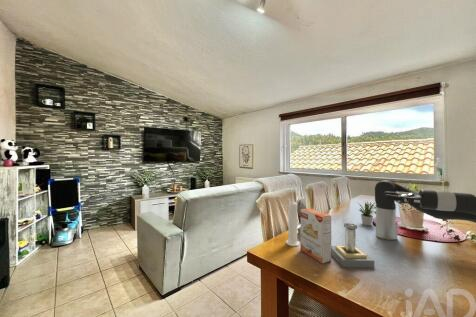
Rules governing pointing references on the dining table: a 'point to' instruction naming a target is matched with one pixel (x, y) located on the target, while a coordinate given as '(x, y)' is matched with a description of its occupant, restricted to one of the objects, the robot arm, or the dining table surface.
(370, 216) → the house plant
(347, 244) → the shaft
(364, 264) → the grey square socket base
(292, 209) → the candle
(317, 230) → the cracker box
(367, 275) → the dining table surface
